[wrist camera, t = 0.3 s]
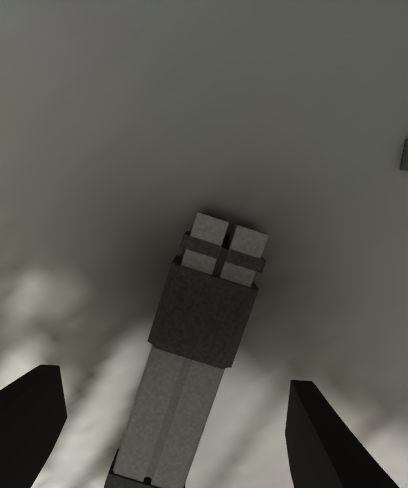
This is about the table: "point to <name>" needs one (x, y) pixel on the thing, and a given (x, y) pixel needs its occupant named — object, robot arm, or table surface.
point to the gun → (189, 353)
